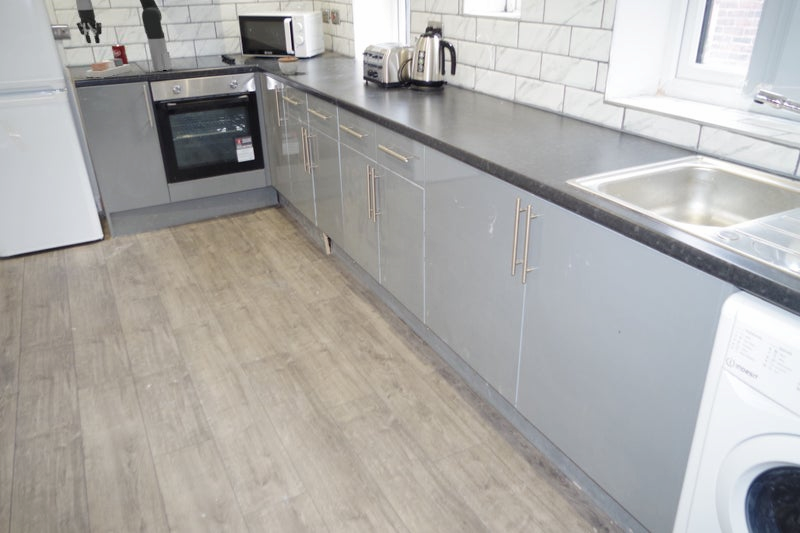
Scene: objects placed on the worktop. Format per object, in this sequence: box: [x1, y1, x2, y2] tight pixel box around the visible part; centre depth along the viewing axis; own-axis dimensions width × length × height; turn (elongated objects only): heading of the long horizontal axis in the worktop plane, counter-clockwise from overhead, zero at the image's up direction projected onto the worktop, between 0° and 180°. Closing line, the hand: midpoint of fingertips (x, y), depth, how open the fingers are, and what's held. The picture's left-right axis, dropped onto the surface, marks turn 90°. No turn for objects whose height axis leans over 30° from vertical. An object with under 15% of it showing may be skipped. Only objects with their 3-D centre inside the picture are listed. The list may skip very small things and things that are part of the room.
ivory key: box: [101, 59, 115, 69], centre depth 333 cm, size 5×5×4 cm
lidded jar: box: [277, 55, 299, 76], centre depth 323 cm, size 11×11×9 cm
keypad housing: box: [85, 64, 132, 78], centre depth 334 cm, size 10×24×4 cm, turn 166°
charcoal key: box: [108, 58, 123, 67], centre depth 339 cm, size 5×5×4 cm
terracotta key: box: [91, 61, 107, 71], centre depth 327 cm, size 5×5×4 cm
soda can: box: [111, 44, 130, 65], centre depth 358 cm, size 7×7×12 cm
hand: (93, 43), depth 321 cm, fingers open, 4 cm apart
